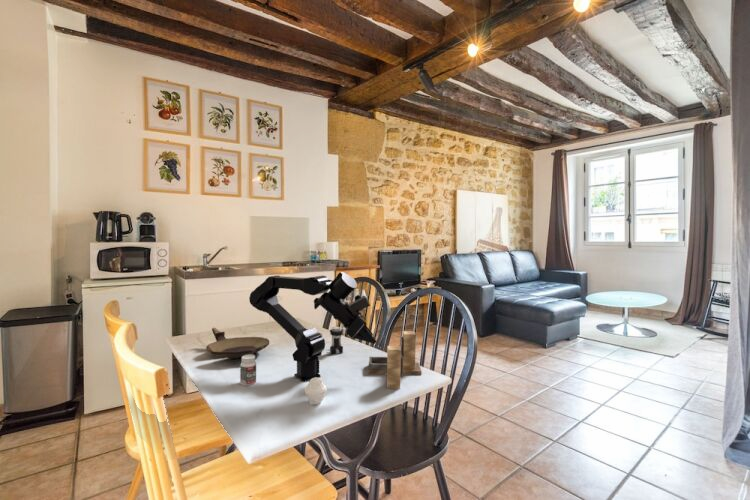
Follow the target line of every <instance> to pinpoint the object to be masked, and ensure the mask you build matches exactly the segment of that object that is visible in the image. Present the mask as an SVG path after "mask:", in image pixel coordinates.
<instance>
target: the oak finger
mask: <svg viewBox="0 0 750 500" xmlns="http://www.w3.org/2000/svg"><path fill="white" fill-rule="evenodd" d="M386 347H387V348H386V349H387V351H386V352H387V355H386V357H387V374H386V387H387V389H401V378H402V377H403V374H402V365H403V357H402V354H401V345H387V346H386Z"/></svg>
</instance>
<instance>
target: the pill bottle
mask: <svg viewBox="0 0 750 500" xmlns="http://www.w3.org/2000/svg"><path fill="white" fill-rule="evenodd" d="M239 367H240V368H239V369H240V370H239V371H240V372H239V373H240V376H239V378H240V381H239V383H240V384H241V385H242V386H244V387H245V386H252V385H254V384H256V383H257V362H256V355H254V354H249V355H244V356H242V357H241V363H240V366H239Z"/></svg>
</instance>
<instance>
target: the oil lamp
mask: <svg viewBox="0 0 750 500" xmlns="http://www.w3.org/2000/svg"><path fill="white" fill-rule="evenodd" d="M211 328H212V329H211V330H212V333H213V335H214V339H215V340H216V341H214V342H212V343H209V344H208V345H206V351H207V352H210V355H214V356H217V357H220V358H227V359H239V358H242V356H244V355H249V354H251V355H254V354H257V353H258V352H260V351H262V350H263V349H265V348H266V347H268V346H269V345H270V340H269V339H268V337H266V338H265V337H263V336H262V337H261V336H245V337H244V336H243V337H242V336H241V337H240V336H239V337H230V338H226V336H225V335H226V332H225V331H220V330H218V329H217V328H216V327H211Z"/></svg>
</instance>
